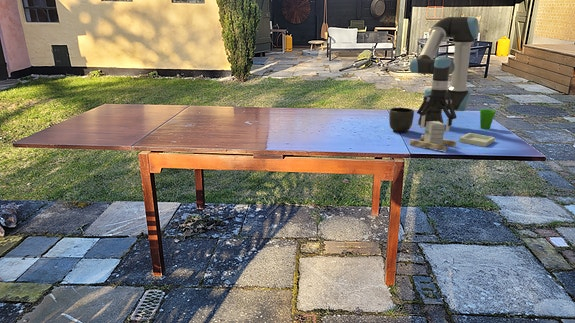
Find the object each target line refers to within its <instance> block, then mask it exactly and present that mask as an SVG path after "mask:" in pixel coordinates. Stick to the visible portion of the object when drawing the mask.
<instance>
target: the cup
mask: <svg viewBox="0 0 575 323" xmlns="http://www.w3.org/2000/svg"><path fill="white" fill-rule="evenodd" d="M496 113H497V111H496V110H493V109H485V108H484V109H479V116H480V117H479V118H480V119H479V120H480V121H479V123H480V129H482V130H486V131H488V130H490V129H491V125H492V124H493V120H494V117H495V114H496Z"/></svg>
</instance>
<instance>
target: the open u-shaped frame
mask: <svg viewBox="0 0 575 323" xmlns="http://www.w3.org/2000/svg"><path fill="white" fill-rule="evenodd" d="M424 137H425V134H421V136H420V139H412V138H411V139H410V141H409V143H410V144H409V145H410V146H411V145H412V147H416V146H418V147H417V148H421V147H425V148H424V149H426V148H431V149H437V150H443V151H446V152H447V148H448V147H450V146H453V147H452V148H456V147H457V140H456V141H455V140H451V139H447V138H443V145H438V144H433V143H428V142H424ZM445 145H448V146H445ZM455 146H456V147H455Z"/></svg>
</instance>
